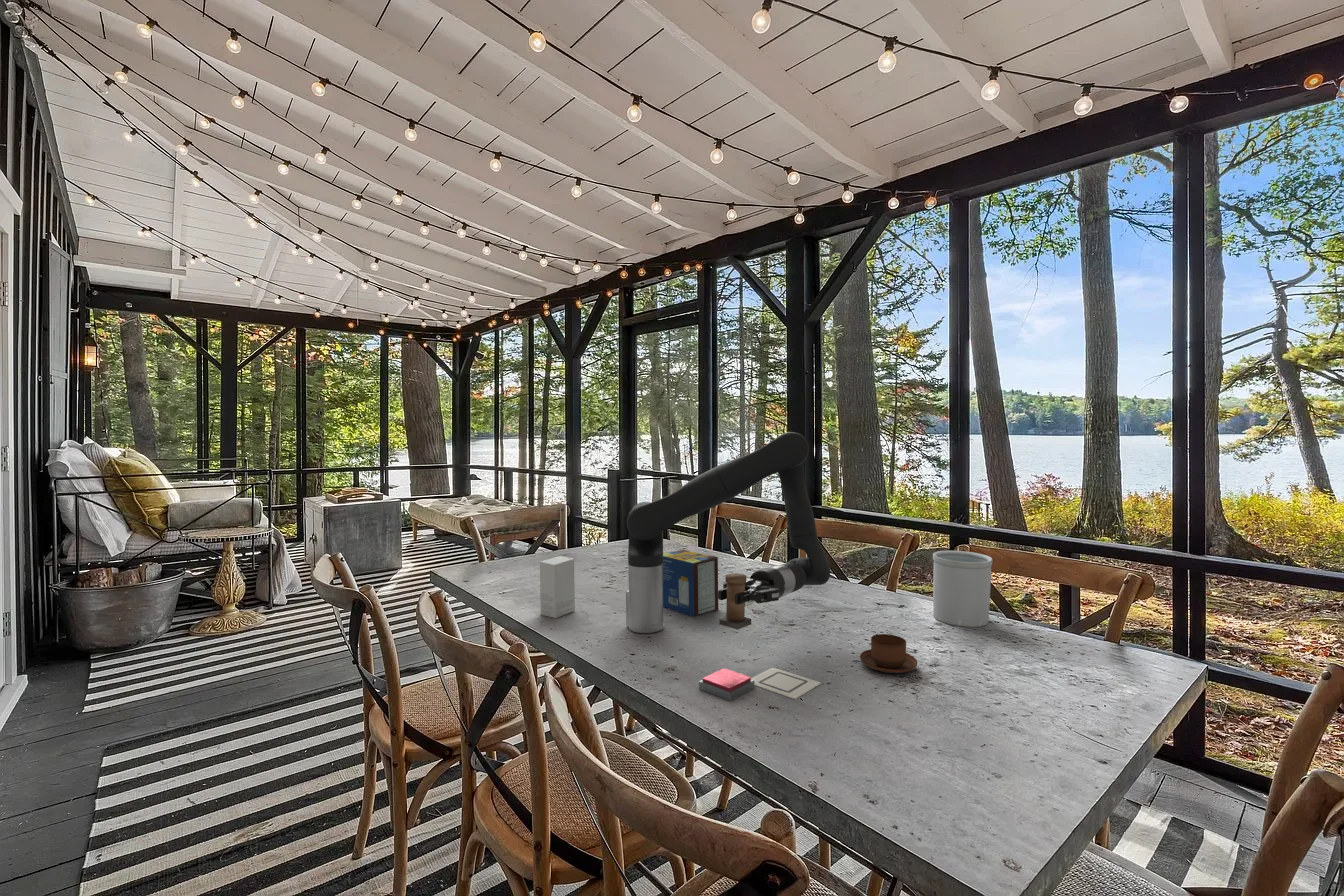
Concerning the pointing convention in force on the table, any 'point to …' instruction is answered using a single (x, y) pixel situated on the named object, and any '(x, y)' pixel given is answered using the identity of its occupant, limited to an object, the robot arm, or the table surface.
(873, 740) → the table surface
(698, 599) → the protein box
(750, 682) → the ink pad
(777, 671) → the sheet
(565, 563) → the skincare box
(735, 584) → the stamp
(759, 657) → the table surface
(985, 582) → the utensil holder
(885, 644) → the cup and saucer
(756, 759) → the table surface
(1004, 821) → the table surface
